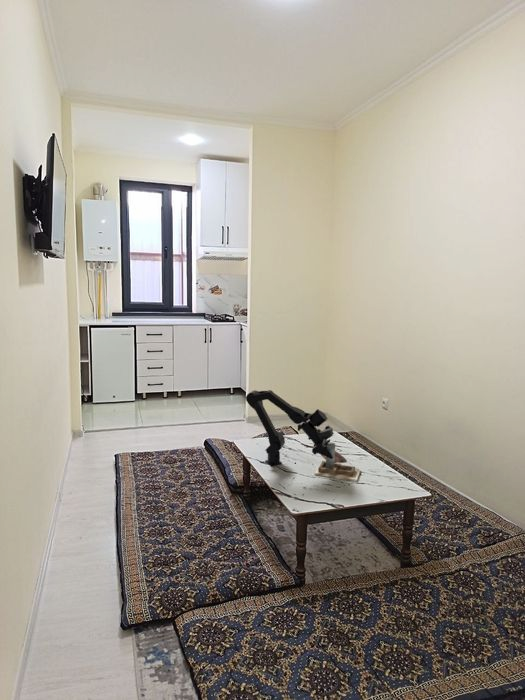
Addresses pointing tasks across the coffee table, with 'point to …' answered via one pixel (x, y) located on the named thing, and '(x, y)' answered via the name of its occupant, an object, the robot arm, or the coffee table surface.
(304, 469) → the coffee table surface
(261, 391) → the robot arm
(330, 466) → the slate peg
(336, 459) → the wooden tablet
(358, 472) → the keyhole board
